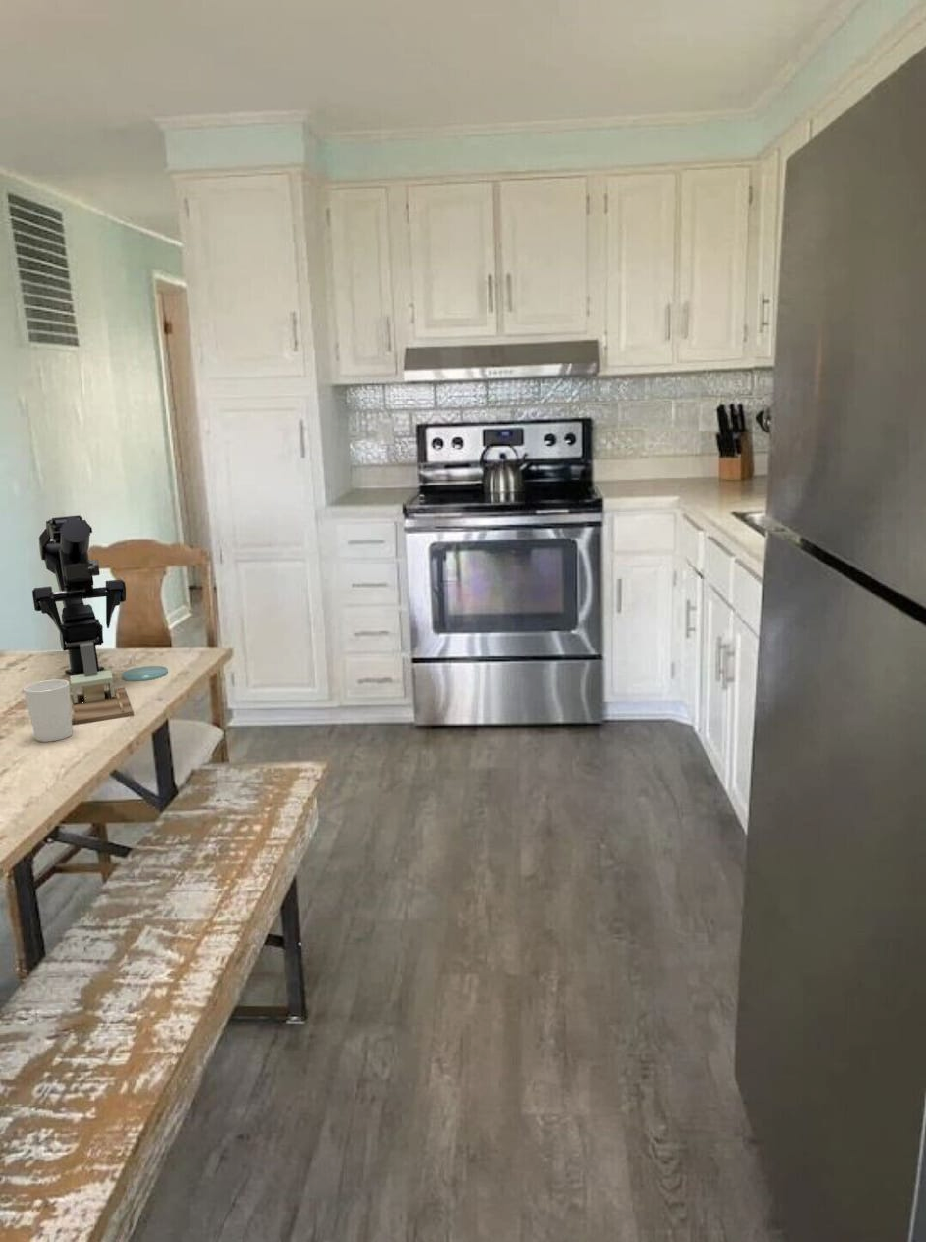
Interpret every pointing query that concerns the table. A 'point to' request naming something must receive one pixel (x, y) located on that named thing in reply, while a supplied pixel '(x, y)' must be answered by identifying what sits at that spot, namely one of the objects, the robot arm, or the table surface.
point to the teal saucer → (144, 673)
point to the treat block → (93, 692)
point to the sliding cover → (90, 672)
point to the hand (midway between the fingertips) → (85, 629)
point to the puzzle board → (101, 708)
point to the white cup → (50, 709)
